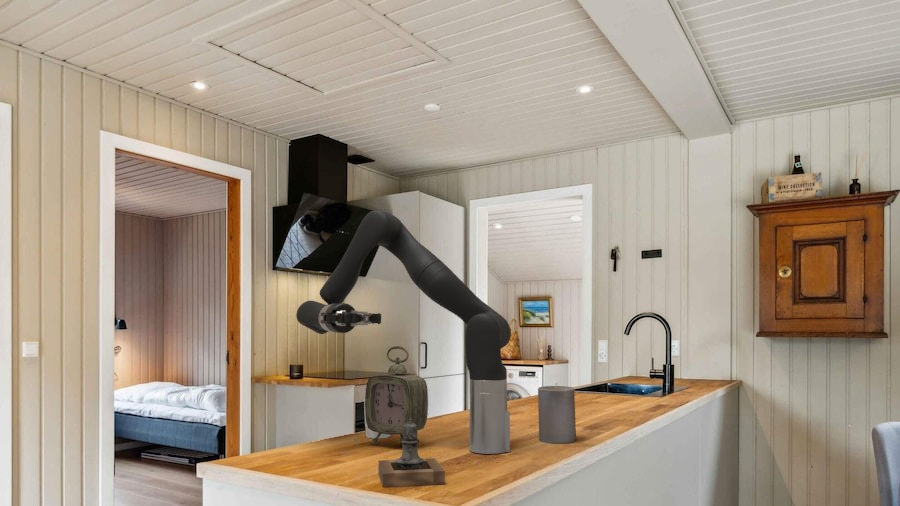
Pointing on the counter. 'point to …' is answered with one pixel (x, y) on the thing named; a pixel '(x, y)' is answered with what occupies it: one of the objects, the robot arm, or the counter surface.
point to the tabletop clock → (395, 400)
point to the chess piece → (410, 449)
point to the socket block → (411, 474)
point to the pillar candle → (556, 414)
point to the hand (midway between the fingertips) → (362, 318)
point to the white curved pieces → (371, 433)
